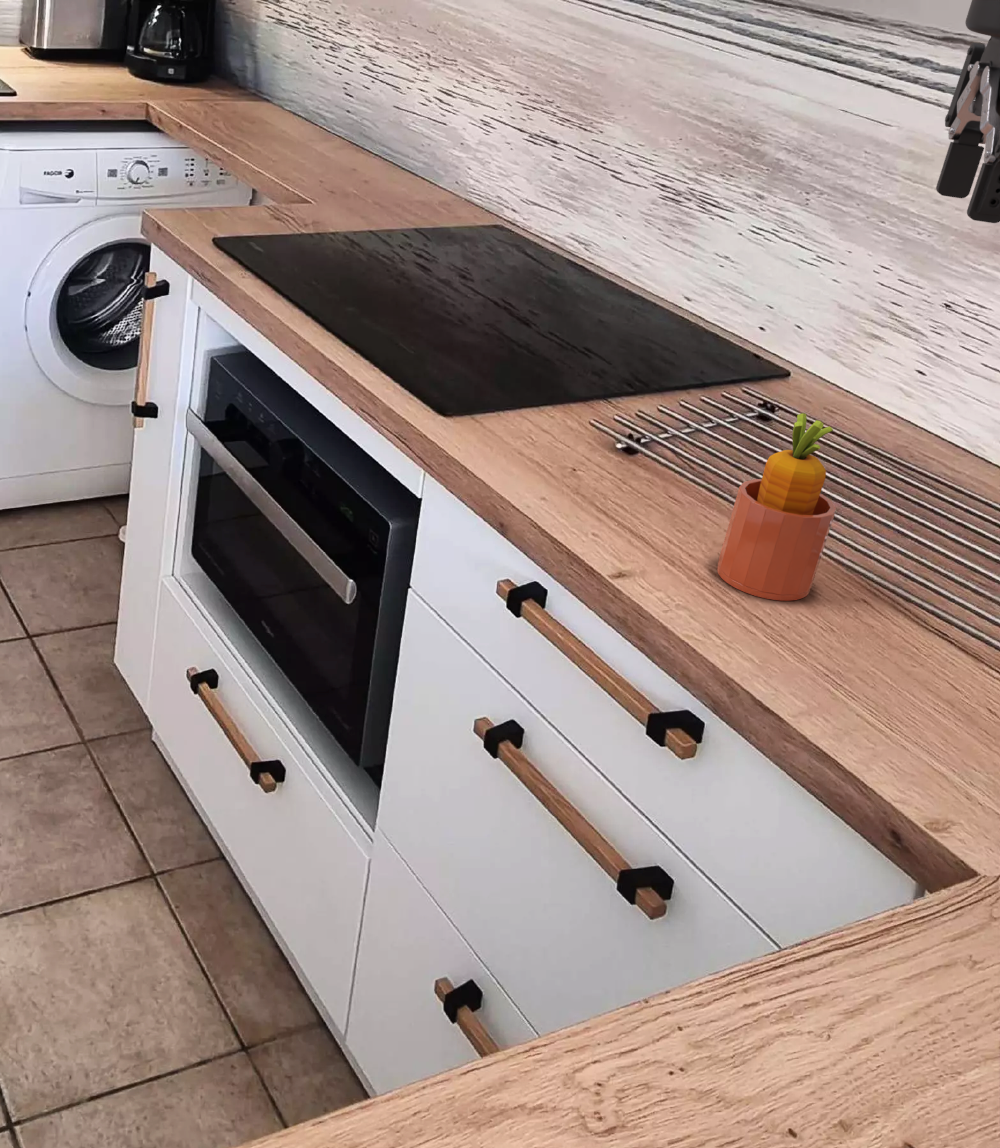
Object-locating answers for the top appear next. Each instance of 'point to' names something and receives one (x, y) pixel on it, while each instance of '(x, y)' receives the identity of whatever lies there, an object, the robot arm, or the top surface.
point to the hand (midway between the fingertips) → (966, 208)
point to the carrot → (795, 472)
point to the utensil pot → (773, 546)
